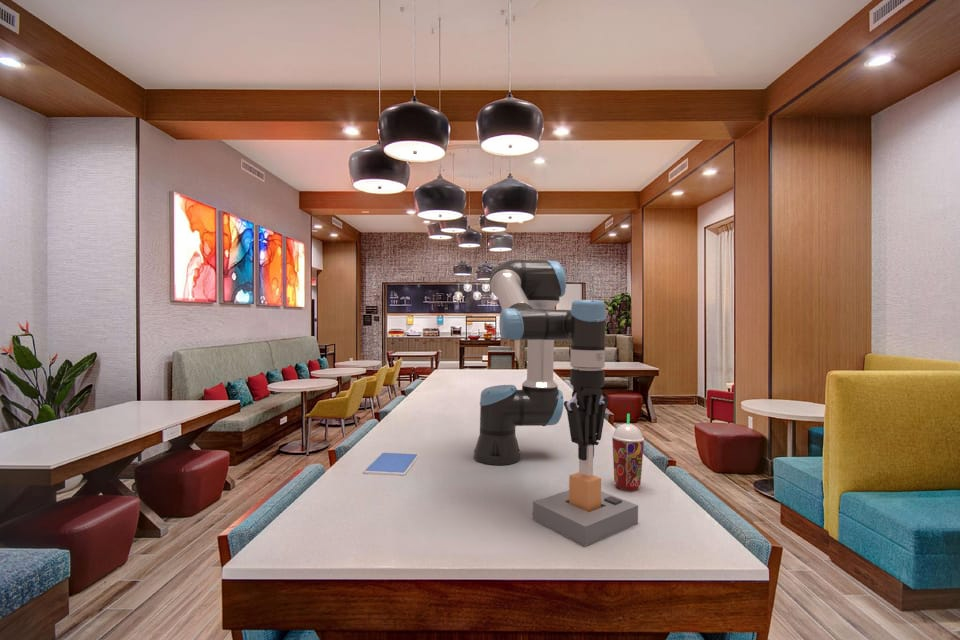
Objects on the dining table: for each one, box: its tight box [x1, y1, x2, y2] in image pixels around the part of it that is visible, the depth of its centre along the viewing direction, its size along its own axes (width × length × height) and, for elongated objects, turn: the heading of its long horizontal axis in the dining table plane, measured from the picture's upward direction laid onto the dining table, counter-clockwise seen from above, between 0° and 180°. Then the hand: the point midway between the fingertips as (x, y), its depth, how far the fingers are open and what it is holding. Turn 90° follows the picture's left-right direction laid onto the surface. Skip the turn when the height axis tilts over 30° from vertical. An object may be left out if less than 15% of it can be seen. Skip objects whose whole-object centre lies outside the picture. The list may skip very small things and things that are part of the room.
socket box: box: [532, 489, 639, 548], centre depth 101 cm, size 15×18×4 cm
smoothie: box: [611, 413, 645, 492], centre depth 122 cm, size 8×8×20 cm
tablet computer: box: [362, 452, 420, 477], centre depth 138 cm, size 19×13×1 cm, turn 176°
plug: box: [568, 471, 602, 512], centre depth 101 cm, size 5×4×10 cm
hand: (585, 473), depth 101 cm, fingers closed
